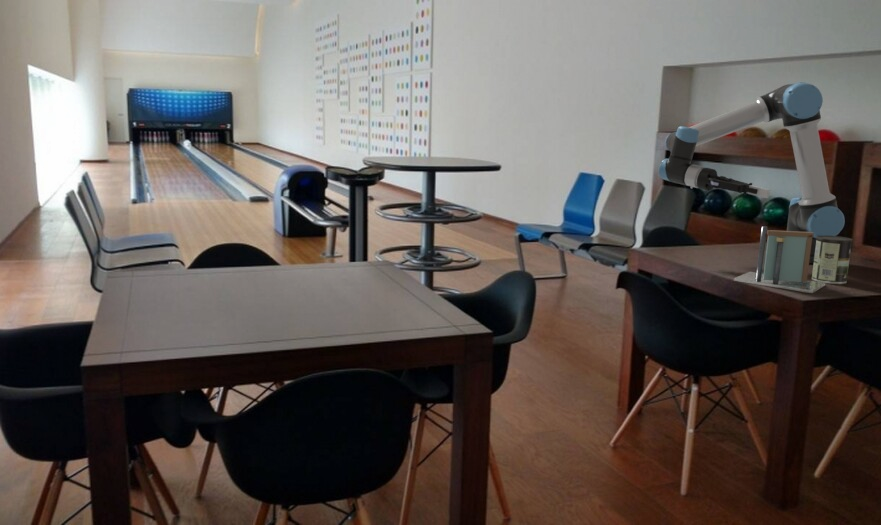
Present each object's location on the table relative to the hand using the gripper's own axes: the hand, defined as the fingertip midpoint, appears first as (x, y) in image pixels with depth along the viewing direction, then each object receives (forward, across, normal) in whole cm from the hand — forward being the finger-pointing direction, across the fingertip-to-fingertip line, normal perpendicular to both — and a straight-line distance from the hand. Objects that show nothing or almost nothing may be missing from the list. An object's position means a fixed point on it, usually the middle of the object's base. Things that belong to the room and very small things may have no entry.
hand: (768, 194), depth 238 cm
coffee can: (+21, -13, -25) cm, 35 cm away
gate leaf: (+15, +7, -24) cm, 29 cm away
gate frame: (+12, +5, -25) cm, 29 cm away
